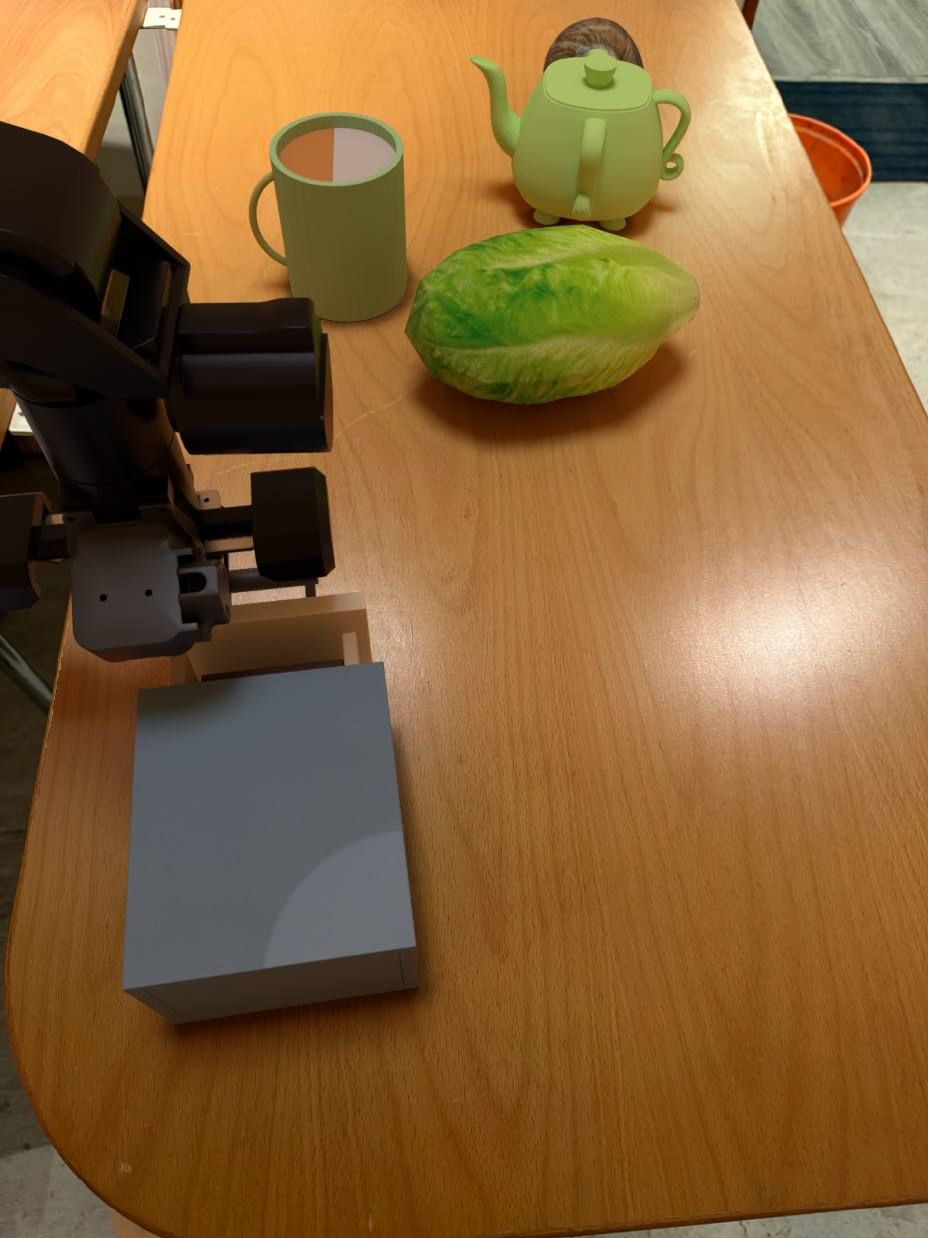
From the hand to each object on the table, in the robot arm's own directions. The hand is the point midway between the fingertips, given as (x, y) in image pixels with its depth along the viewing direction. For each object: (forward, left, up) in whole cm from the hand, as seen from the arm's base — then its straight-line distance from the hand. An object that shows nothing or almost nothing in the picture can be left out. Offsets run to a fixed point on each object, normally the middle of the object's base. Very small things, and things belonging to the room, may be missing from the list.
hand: (188, 622), depth 54 cm
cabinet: (+5, -15, -4) cm, 16 cm away
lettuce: (+27, +22, -4) cm, 35 cm away
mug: (+11, +36, -4) cm, 38 cm away
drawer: (+5, -7, -3) cm, 9 cm away
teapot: (+34, +46, -4) cm, 58 cm away
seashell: (+40, +62, -4) cm, 74 cm away
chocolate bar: (+5, -7, -2) cm, 9 cm away
